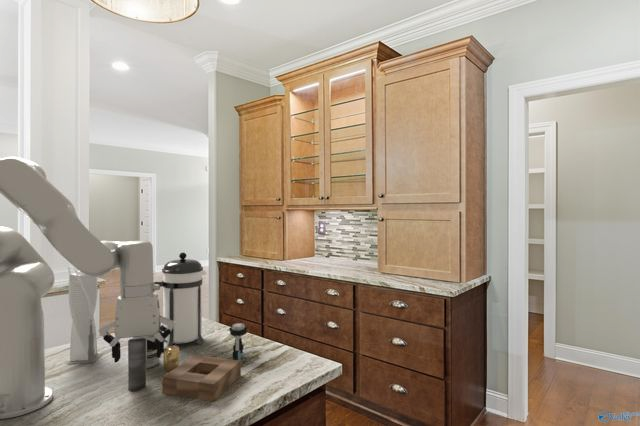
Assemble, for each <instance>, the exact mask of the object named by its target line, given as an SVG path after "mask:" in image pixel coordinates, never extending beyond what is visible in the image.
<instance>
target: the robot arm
mask: <svg viewBox="0 0 640 426" xmlns="http://www.w3.org/2000/svg"><path fill="white" fill-rule="evenodd" d="M0 194H1V195H2V196H3V197H4V198H5V199H7V200H8V201H9V202H10V203H11V204H12V205H13V206H15V207H16V208H17V209H18V210H19V211H20V212H21V213H22V214H23V215H25V216H26V218H28V219H29V220H30V221H31V222H32V223H33V224H35V225H36V226H37V227H38V229H39V230H40V232H41V233H42V234H43V236H44V237H45V238H46V240H47V241H48V242H49V244H50V245H51V246H52V247H53V248H54V249H55V250H56V252H57V253H59V254H60V255H61V256H62V258H63V259H65V260H66V261H68V263H70V264H71V266H73V267H74V268H75V269H76V270H77V271H80V272H82V273H84V274H86V275H88V276H91V277H97V278H99V277H104V276H105V275H107V274H108V273H110V272H111V271H113V270H115V269H116V270H117V269H119V285H120V287H119V289H120V291H119V293H120V294H119V296H118V297H117V300H116V303H115V304H116V305H115V313H114V319H113V320H112V321H110V322H109V323H108V322H107V323H106V324H105V325H103V326H101V327H100V328H99V329H98V332H99V334H100V335H101V336H102V338H103V341H105V342H106V343H107V344H109V346H110V347H111V359H114V363H118V362H119V361H120V359H121V355H122V354H121V353H122V352H121V342H120V340H121V339H128V338H130V339H132V338H133V337H141V336H151V335H154V336H155V337H156V338H157V339H158V341H157V357H158V358H159V359H160V358H161V357H162V354H164V348H165V341H164V339H165V338H166V337H167V336H168V335H169V334H170V332H171V330H172V329H173V327H174V324H175V321H173V320H170V319H167V318H165V317H163V316H162V315H161V308H160V307H161V306H160V301H159V295H158V292H157V293H156V291H159V290H160V289H161V287H160V285H157V284H155V283H154V282H155V281H154V248H153V244H152V242H151V241H148V240H128V241H113V240H99V238H97V237H96V236H95V235H94V234H93V233H92V232H91V231H90V230H89V229H88V228H87V227H86V226H85V225H84V224H83V222H82V221H81V220H80V218H79V217H78V215H77V212H76V210H75V206H74V205H73V203H72V202H71V200H70V199H68V198H67V197H66V196H65V195H64V194H63V192H60V190H58V188H56V186H55V185H53V184H52V183H51V182H50V181H49V180H48V179H47V175H46V171H44V169H43V168H42V167H41V166H40V164H37V163H36V162H34V161H32V160H28V159H25V158H21V157H17V156H7V157H2V158H0ZM54 284H55V273H54V271H53V270H52V268H51V267H50V265H49V264H48V263H47V261H45V259H44V258H43V257H42V256H41V255H40V253H39V252H38V251H37V250H36V249H35V248H34V247H33V246H32V244H31V243H30V242H29V241H28V240H27V238H26V237H24V235H22V234H21V233H19V232H18V231H17V230H15V229H13V228H12V227H11V228H10V227H6V226H2V225H1V226H0V420H2V419H3V420H4V419H11V418H16V417H20V416H23V415H27V414H29V413H33V412H34V411H37V410H39V409H41V408H43V407H44V406H45V405H47V404H48V403H50V401H51V400H52V399H53V398H54V391H53V389H51V388H50V387H47V386H46V375H45V374H46V367H45V366H46V365H45V363H46V361H45V360H46V358H45V355H46V354H45V351H46V350H45V349H46V348H45V347H46V346H45V345H46V344H45V318H44V312H43V306H42V298H43V297H45V295H47V294H48V293H49V292H50V291H51V290H52V288H53V286H54ZM163 324H165V325H167V326H168V327H167V329H166V330H165V331H164V332H162V331H161V330H160V329H159V328H160V326H161V325H163ZM113 328H114V329H113ZM110 329H113V330H114V336H113V335H111V333H109V330H110Z"/></svg>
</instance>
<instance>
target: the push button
mask: <svg viewBox="0 0 640 426" xmlns="http://www.w3.org/2000/svg"><path fill="white" fill-rule="evenodd" d="M228 329H229V330H228V331H229V333H230V336H232V337H235V338H234V344H233V346H232V350H233V351H232V360H240V361H241V359H242V358H244V356H245V353H244V349H245V348H244V344H243V341H242V337H243V336H244V335H246V334H247V331H248V326H246V325H245V324H244V323H243V322H236V323H234V324H232V326H230V327H229V328H228Z"/></svg>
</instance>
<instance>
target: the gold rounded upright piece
mask: <svg viewBox="0 0 640 426" xmlns="http://www.w3.org/2000/svg"><path fill="white" fill-rule="evenodd" d="M179 365H180V347H179V346H178V345H175V346H169V347H168V346H166V347H164V353H163V372H164V373H165V374H168V373H169V372H170V371H172V370H173V369H175V368H176V367H178V366H179Z"/></svg>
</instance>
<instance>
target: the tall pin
mask: <svg viewBox="0 0 640 426" xmlns="http://www.w3.org/2000/svg"><path fill="white" fill-rule="evenodd" d="M127 350H128V351H127V352H128V354H127V355H128V356H127V357H128V359H127V362H128V364H127V366H128V367H127V372H128V373H127V376H128V378H127V379H128V380H127V382H128V388H127V389H128V390H129V391H130V392H138V391H142V390H144V389H145V388H146V387H147V369H146V338H144V337H137V338H133V337H131V338H130V339H128V341H127Z"/></svg>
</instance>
